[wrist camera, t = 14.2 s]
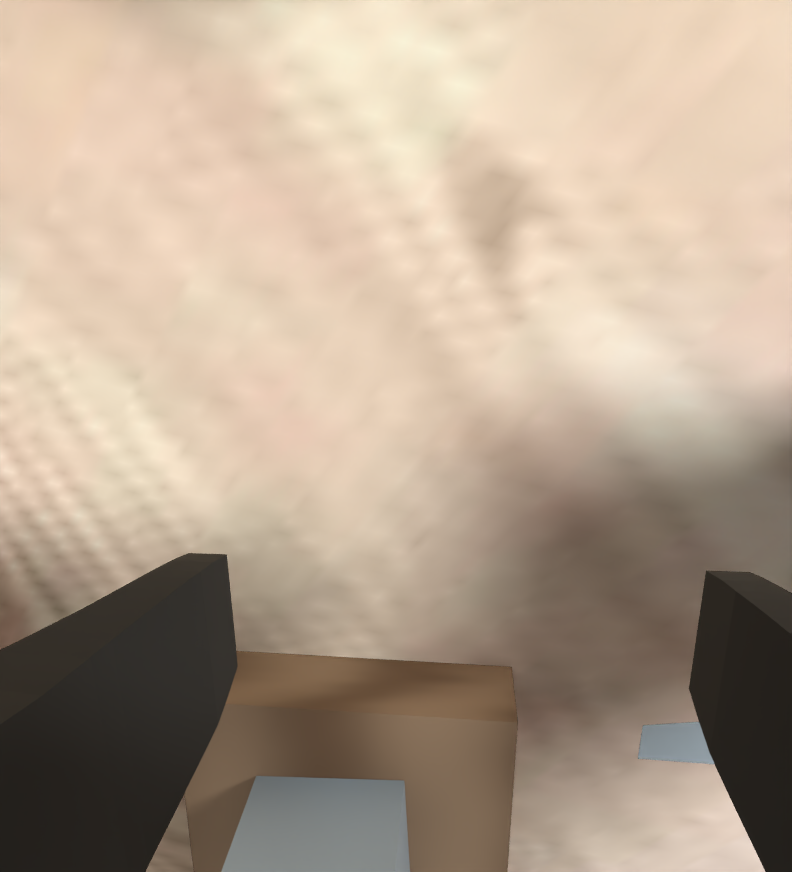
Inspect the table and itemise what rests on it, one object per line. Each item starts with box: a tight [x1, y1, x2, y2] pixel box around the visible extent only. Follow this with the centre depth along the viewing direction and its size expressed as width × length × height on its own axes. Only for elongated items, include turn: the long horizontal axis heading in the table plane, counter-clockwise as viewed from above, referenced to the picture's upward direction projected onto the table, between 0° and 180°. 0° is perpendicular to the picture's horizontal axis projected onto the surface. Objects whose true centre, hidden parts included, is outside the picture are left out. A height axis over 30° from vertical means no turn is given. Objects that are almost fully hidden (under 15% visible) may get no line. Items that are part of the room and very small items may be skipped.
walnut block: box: [185, 651, 518, 872], centre depth 22 cm, size 10×10×3 cm
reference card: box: [638, 722, 714, 764], centre depth 22 cm, size 8×6×1 cm
